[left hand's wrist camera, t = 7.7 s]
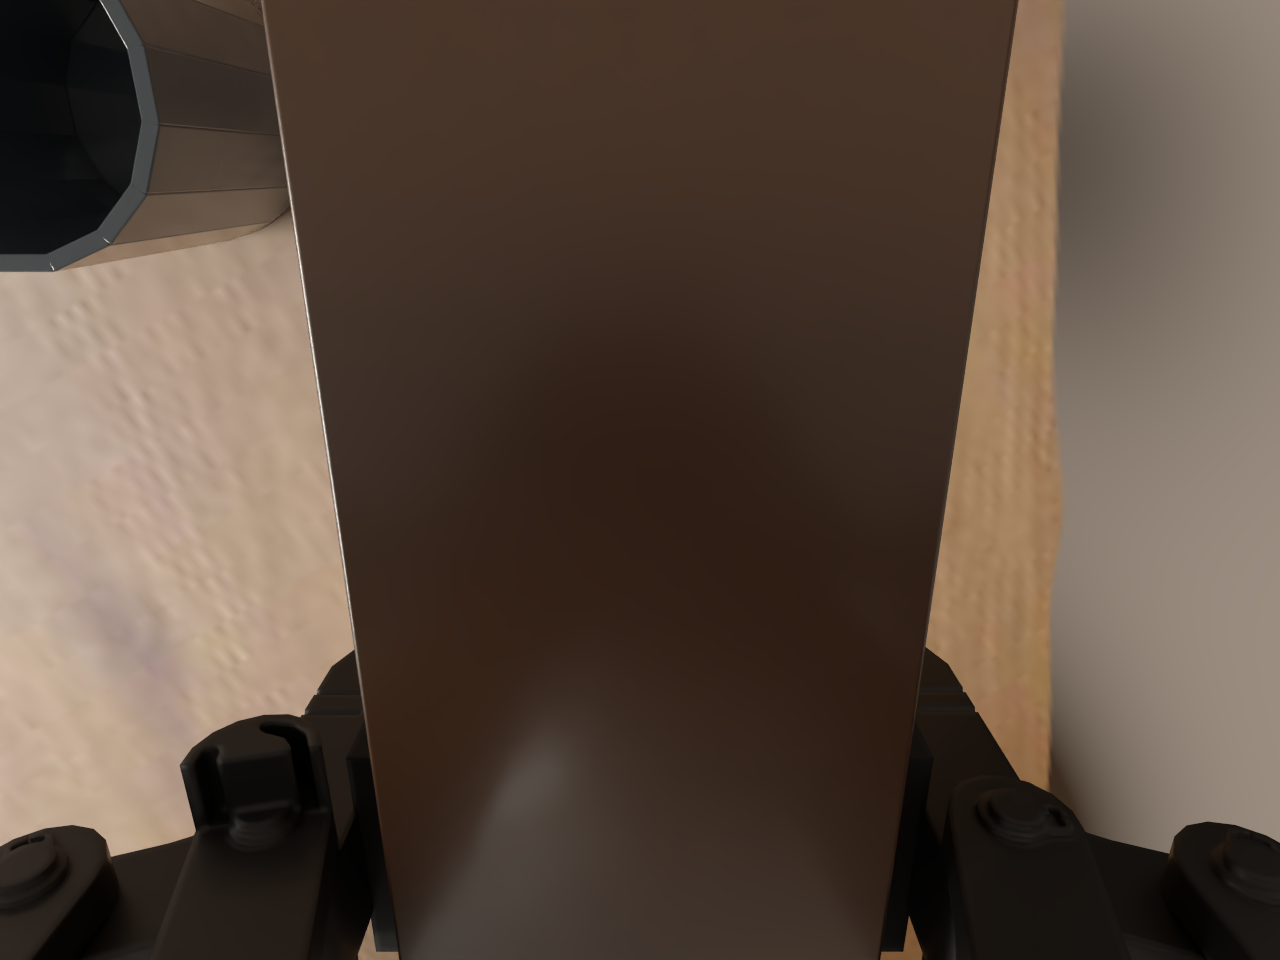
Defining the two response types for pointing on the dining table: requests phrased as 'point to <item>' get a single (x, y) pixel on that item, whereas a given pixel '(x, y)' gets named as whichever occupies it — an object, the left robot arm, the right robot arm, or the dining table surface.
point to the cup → (133, 129)
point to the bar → (639, 444)
